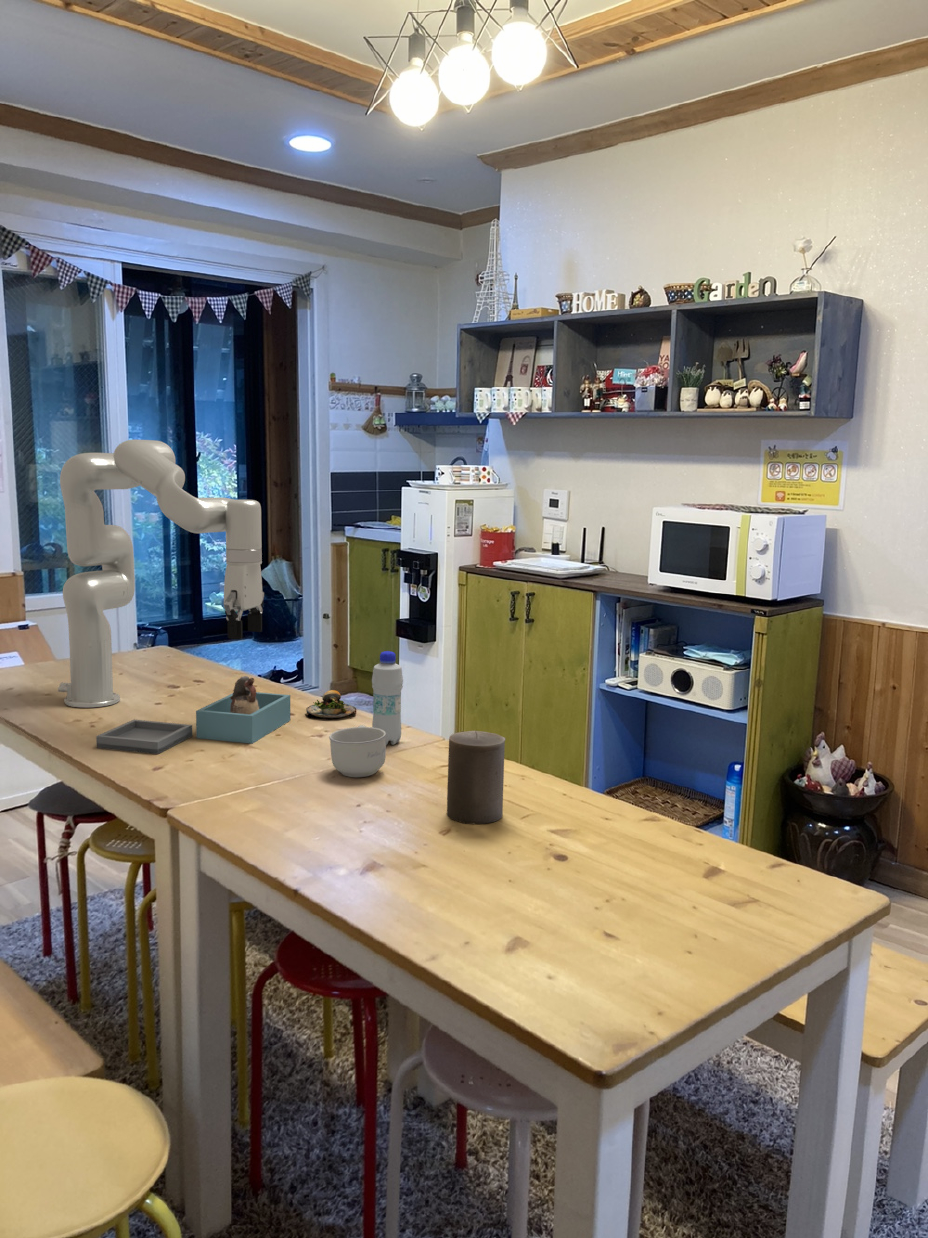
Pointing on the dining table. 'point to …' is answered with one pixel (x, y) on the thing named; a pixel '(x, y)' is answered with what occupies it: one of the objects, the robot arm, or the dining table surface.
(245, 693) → the figurine
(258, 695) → the tub
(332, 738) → the teacup
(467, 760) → the pillar candle
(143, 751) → the tray
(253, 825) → the dining table surface
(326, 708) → the burger
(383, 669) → the bottle
